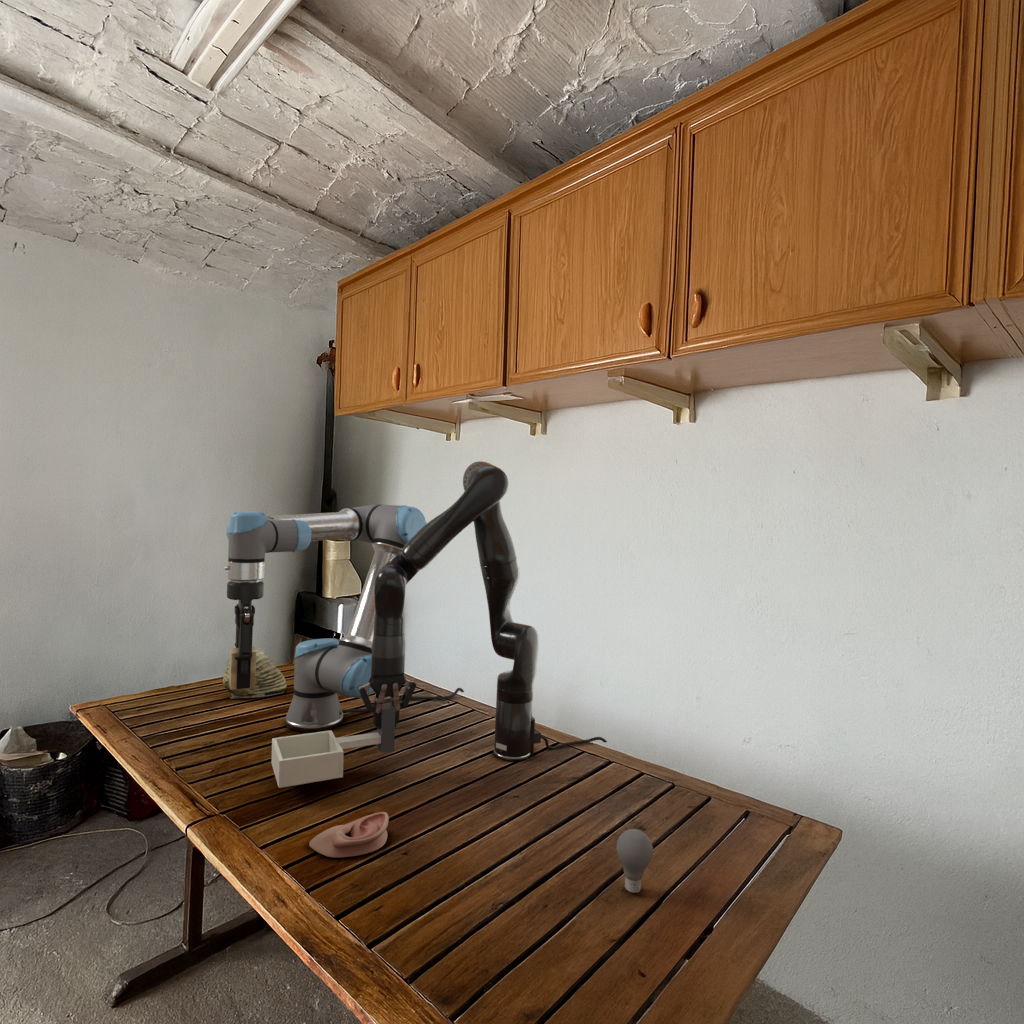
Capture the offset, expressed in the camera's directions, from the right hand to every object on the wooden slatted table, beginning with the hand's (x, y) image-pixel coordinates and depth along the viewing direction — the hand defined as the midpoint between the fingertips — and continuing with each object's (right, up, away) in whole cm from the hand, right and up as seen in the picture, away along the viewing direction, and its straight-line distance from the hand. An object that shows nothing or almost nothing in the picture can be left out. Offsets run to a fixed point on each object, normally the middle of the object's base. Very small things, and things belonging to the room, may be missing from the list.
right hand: (386, 726), depth 146 cm
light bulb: (+49, -14, -40) cm, 65 cm away
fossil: (-52, -8, +52) cm, 74 cm away
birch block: (-31, +11, -5) cm, 33 cm away
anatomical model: (-1, -12, -29) cm, 31 cm away
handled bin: (-10, -7, -5) cm, 13 cm away
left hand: (-31, +11, -5) cm, 33 cm away
